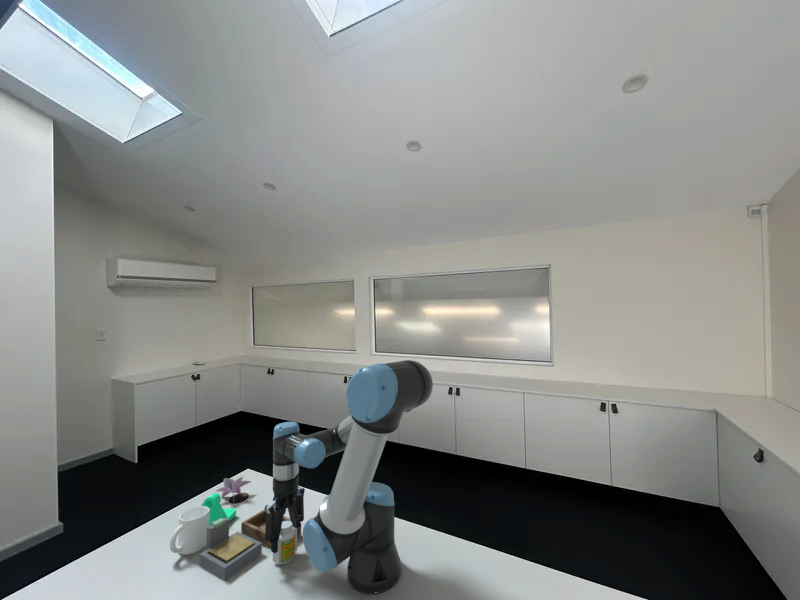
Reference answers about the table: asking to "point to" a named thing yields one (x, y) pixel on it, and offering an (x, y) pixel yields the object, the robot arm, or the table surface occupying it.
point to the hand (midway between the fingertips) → (285, 555)
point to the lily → (232, 486)
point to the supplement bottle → (287, 542)
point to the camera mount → (217, 509)
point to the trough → (259, 528)
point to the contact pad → (231, 548)
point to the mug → (191, 531)
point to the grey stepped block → (218, 535)
